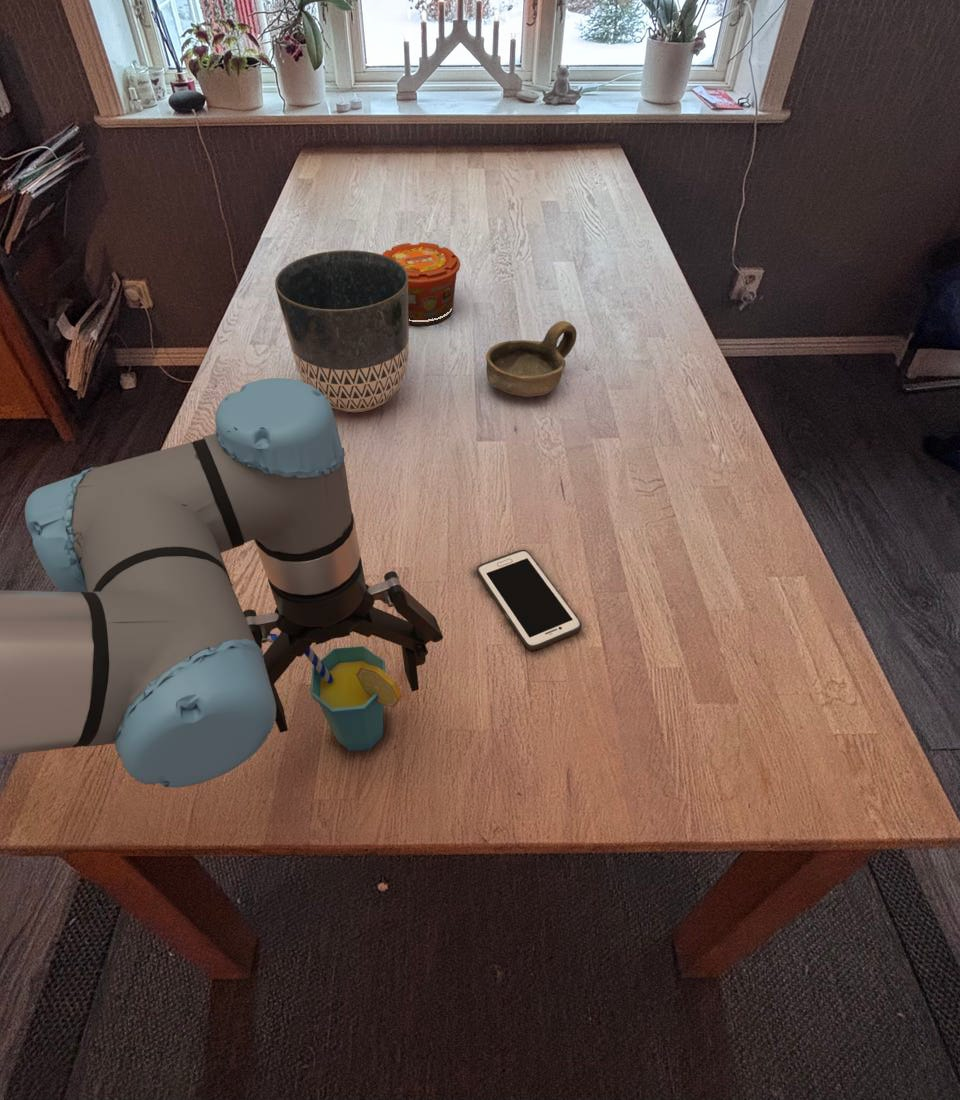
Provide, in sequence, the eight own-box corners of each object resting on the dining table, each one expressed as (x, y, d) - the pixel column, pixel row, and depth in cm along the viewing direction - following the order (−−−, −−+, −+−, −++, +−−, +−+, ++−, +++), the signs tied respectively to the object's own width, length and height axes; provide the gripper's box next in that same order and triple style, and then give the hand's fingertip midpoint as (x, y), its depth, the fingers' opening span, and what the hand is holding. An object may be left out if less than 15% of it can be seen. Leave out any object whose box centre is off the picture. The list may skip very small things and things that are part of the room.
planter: (403, 440, 109) (394, 315, 93) (285, 429, 110) (255, 304, 94) (424, 373, 122) (418, 254, 106) (318, 365, 123) (297, 245, 107)
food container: (412, 339, 130) (409, 285, 122) (366, 307, 138) (360, 254, 130) (476, 314, 137) (477, 261, 129) (428, 285, 145) (426, 233, 137)
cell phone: (525, 552, 92) (525, 547, 91) (583, 630, 83) (584, 626, 83) (474, 570, 90) (474, 565, 89) (529, 653, 81) (529, 649, 80)
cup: (277, 742, 73) (245, 664, 62) (309, 682, 78) (284, 600, 67) (400, 777, 70) (389, 702, 59) (424, 713, 75) (418, 633, 64)
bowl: (468, 379, 121) (469, 328, 113) (547, 353, 127) (552, 303, 120) (512, 419, 113) (515, 366, 106) (593, 388, 120) (602, 337, 112)
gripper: (446, 497, 60) (451, 637, 75) (147, 569, 54) (219, 706, 69) (475, 556, 55) (474, 693, 71) (151, 643, 49) (228, 772, 64)
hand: (348, 700), depth 70 cm, fingers open, 13 cm apart
